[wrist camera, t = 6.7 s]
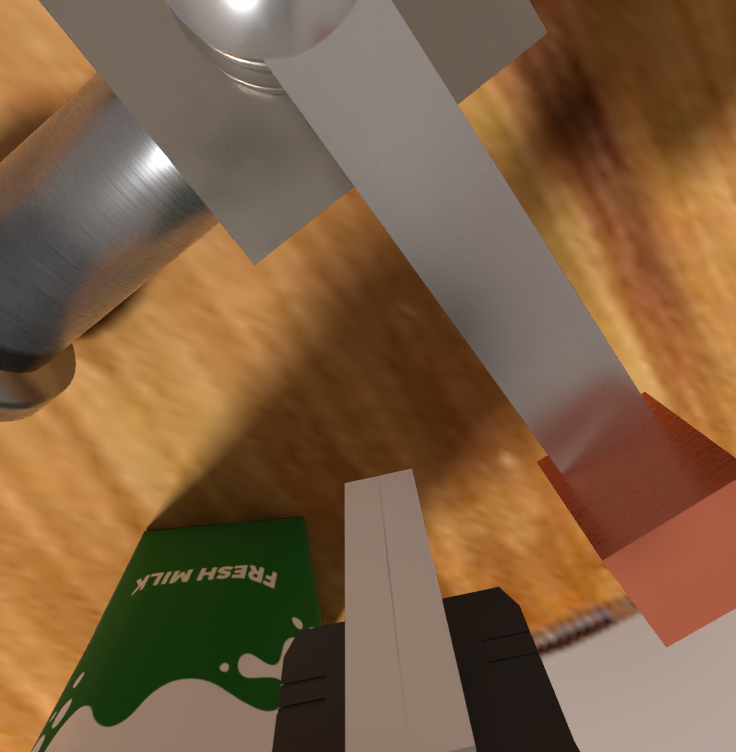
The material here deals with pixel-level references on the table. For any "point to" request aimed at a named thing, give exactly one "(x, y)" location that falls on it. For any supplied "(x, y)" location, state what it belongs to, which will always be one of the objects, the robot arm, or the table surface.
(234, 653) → the milk carton
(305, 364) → the table surface
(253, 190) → the valve body
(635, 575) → the lever
